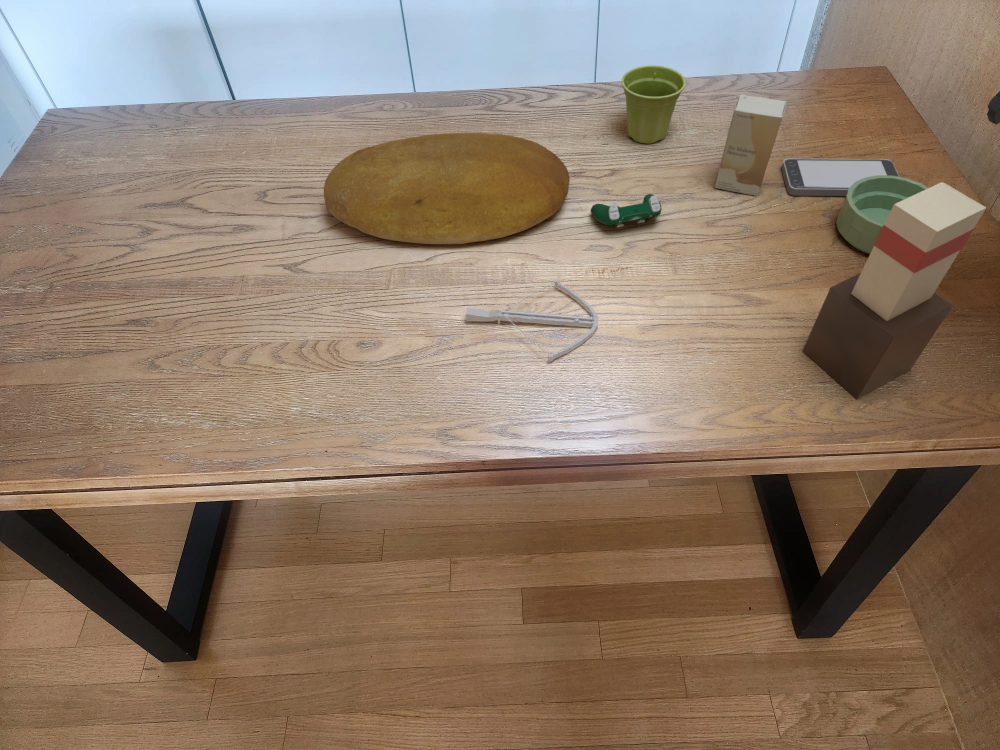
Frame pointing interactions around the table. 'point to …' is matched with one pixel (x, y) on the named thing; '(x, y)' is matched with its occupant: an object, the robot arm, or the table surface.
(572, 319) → the crossbow
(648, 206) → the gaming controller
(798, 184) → the smartphone
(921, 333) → the block
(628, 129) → the plant pot
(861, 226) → the bowl
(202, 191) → the table surface
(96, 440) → the table surface
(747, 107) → the cosmetic box
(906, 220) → the snack carton
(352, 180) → the bread
